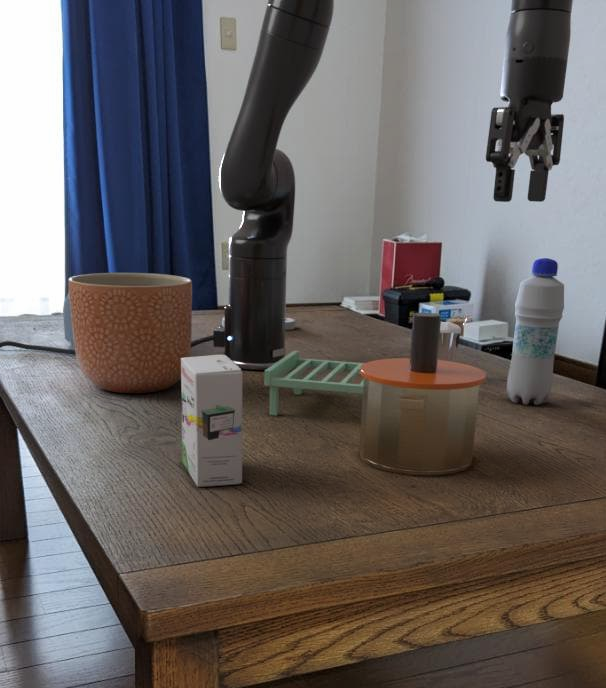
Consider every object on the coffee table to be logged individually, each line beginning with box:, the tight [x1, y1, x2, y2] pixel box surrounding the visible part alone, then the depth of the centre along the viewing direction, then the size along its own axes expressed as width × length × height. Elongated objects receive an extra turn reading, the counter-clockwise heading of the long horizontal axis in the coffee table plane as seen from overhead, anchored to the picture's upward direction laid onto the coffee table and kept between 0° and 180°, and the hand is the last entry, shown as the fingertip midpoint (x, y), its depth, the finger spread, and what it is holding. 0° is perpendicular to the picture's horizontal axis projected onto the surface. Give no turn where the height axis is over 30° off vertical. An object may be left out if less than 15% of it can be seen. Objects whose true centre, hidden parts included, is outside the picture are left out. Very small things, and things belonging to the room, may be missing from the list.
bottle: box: [506, 257, 565, 406], centre depth 127 cm, size 7×7×20 cm
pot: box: [359, 377, 481, 477], centre depth 100 cm, size 13×18×10 cm
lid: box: [359, 312, 487, 390], centre depth 98 cm, size 14×14×7 cm
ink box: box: [180, 354, 244, 488], centre depth 92 cm, size 8×5×12 cm, turn 17°
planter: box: [67, 272, 193, 394], centre depth 128 cm, size 17×17×15 cm
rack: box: [263, 350, 395, 417], centre depth 122 cm, size 15×15×6 cm
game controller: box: [221, 316, 296, 331], centre depth 182 cm, size 15×13×2 cm
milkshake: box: [438, 317, 469, 362], centre depth 140 cm, size 5×5×10 cm
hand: (519, 201), depth 114 cm, fingers open, 8 cm apart
